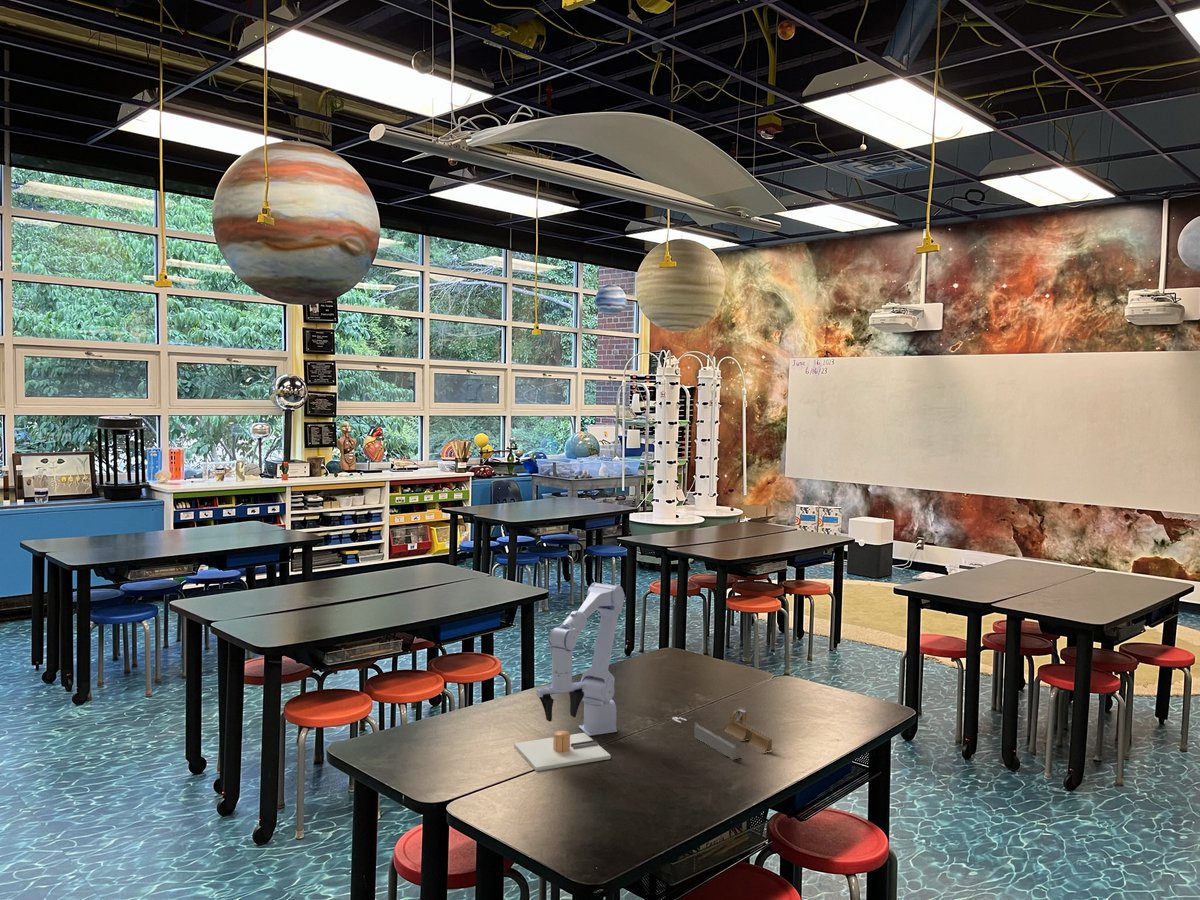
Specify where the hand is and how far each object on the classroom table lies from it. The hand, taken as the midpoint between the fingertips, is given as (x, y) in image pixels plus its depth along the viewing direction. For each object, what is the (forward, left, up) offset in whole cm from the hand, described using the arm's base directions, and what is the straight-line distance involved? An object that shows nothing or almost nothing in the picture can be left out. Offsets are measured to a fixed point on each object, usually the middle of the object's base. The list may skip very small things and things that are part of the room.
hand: (561, 718), depth 236 cm
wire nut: (0, +1, -8) cm, 8 cm away
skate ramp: (-54, +14, -10) cm, 57 cm away
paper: (-46, -14, -10) cm, 49 cm away
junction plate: (0, +1, -9) cm, 9 cm away
